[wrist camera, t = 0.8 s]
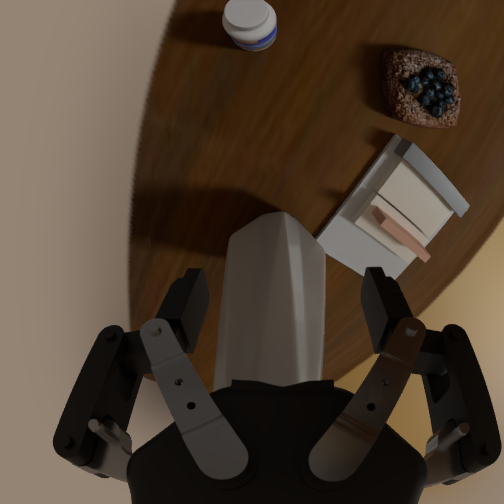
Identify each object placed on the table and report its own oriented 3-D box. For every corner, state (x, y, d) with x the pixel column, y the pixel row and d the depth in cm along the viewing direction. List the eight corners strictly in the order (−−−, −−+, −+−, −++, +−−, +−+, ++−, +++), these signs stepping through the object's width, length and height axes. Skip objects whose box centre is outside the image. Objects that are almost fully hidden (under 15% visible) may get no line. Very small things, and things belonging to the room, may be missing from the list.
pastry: (372, 45, 24) (389, 38, 19) (446, 57, 22) (469, 55, 17) (381, 123, 30) (398, 129, 25) (451, 128, 28) (474, 136, 23)
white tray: (395, 132, 30) (407, 137, 26) (459, 199, 33) (472, 210, 30) (311, 242, 40) (314, 256, 37) (383, 286, 43) (389, 302, 40)
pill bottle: (241, 57, 27) (226, 43, 19) (226, 23, 24) (207, 0, 16) (283, 44, 26) (284, 25, 17) (268, 10, 23) (263, -18, 15)
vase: (322, 264, 42) (349, 492, 14) (250, 273, 44) (213, 492, 16) (315, 191, 36) (376, 466, 8) (231, 203, 38) (139, 458, 10)
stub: (373, 190, 34) (386, 206, 29) (424, 235, 36) (439, 253, 31) (351, 218, 36) (361, 237, 31) (404, 257, 38) (417, 278, 34)
